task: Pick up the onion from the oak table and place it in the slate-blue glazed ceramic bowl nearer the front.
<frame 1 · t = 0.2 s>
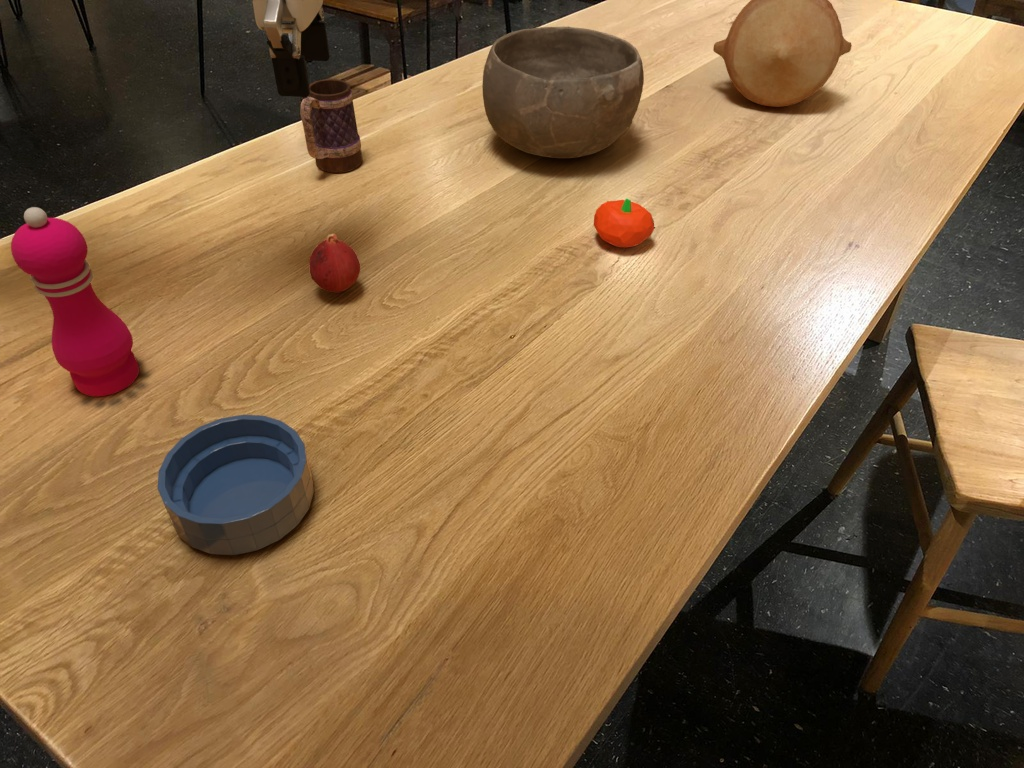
hand: (305, 76, 82), 23 cm above the table, tool pointing down, fingers open, 9 cm apart
bowl: (558, 147, 122), on the table
pumpkin: (619, 242, 102), on the table
pepper mill: (108, 377, 81), on the table
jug: (771, 87, 142), on the table
blue bowl: (245, 501, 69), on the table
mug: (333, 168, 115), on the table
onion: (338, 293, 92), on the table
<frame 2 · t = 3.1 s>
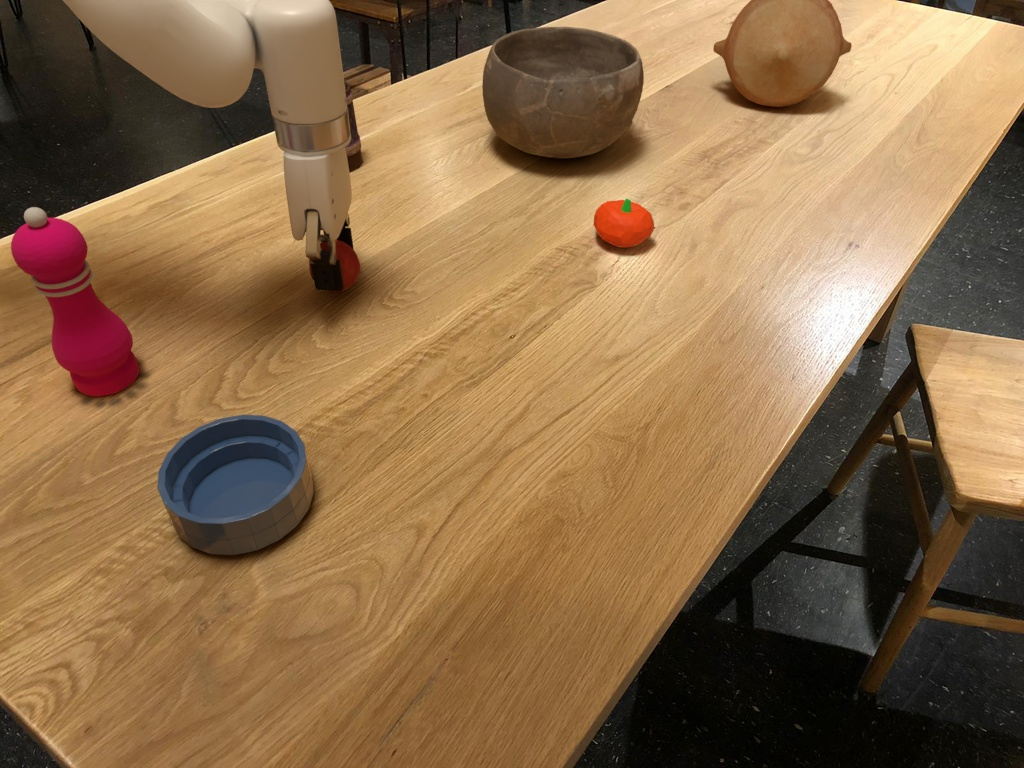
hand: (335, 271, 90), 3 cm above the table, tool pointing down, fingers closed on onion, 5 cm apart
onion: (338, 293, 92), on the table, touching gripper
everything else where it was.
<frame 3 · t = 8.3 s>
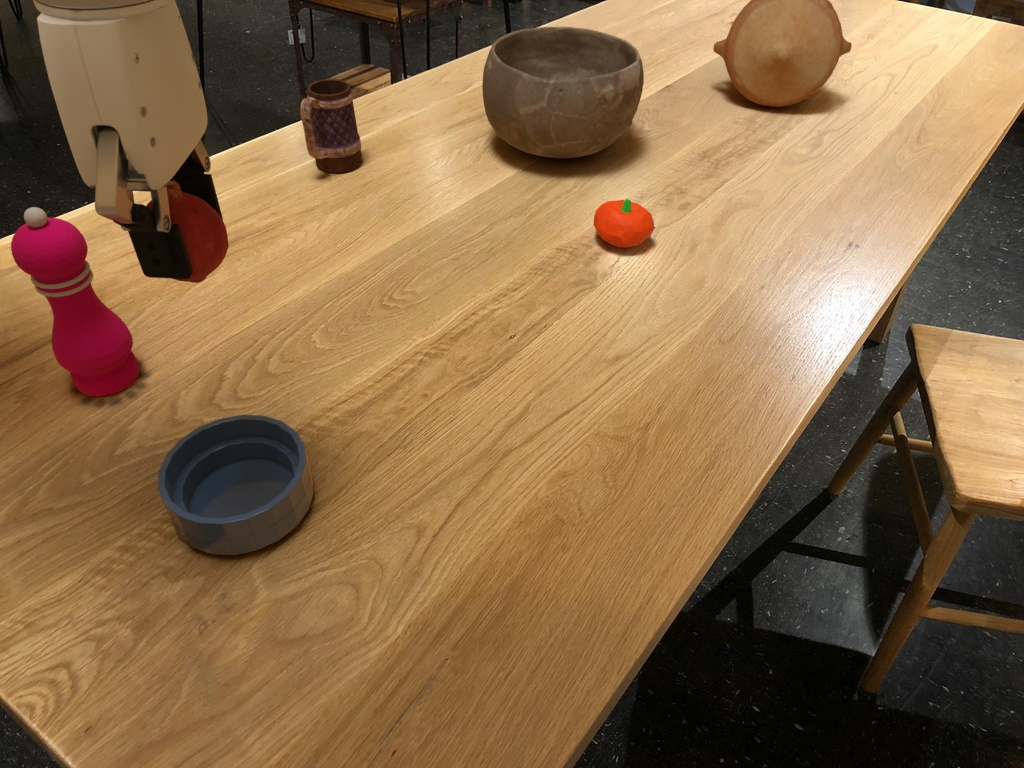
hand: (185, 246, 54), 25 cm above the table, tool pointing down, fingers closed on onion, 5 cm apart
onion: (197, 283, 56), point 22 cm above the table, touching gripper
everything else where it was.
when the fingers open (4 cm above the table, at t = 13.8 s): onion stays where it is, resting on blue bowl.
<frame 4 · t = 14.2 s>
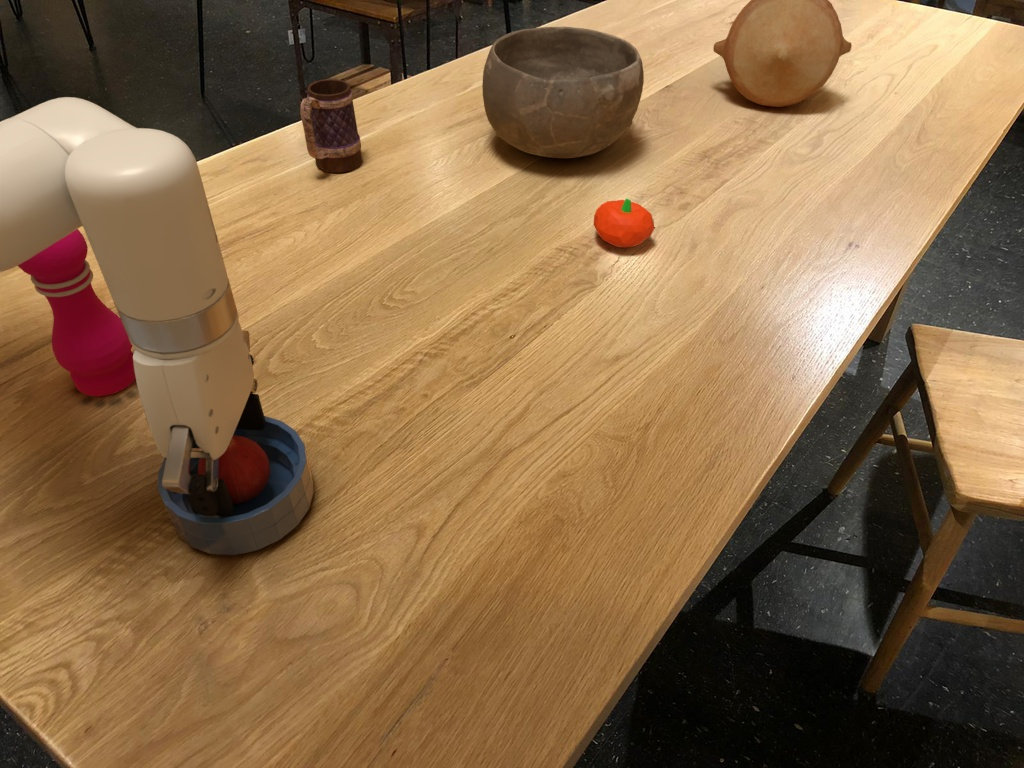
hand: (232, 467, 66), 5 cm above the table, tool pointing down, fingers open, 9 cm apart
onion: (243, 498, 69), resting on blue bowl
everything else where it was.
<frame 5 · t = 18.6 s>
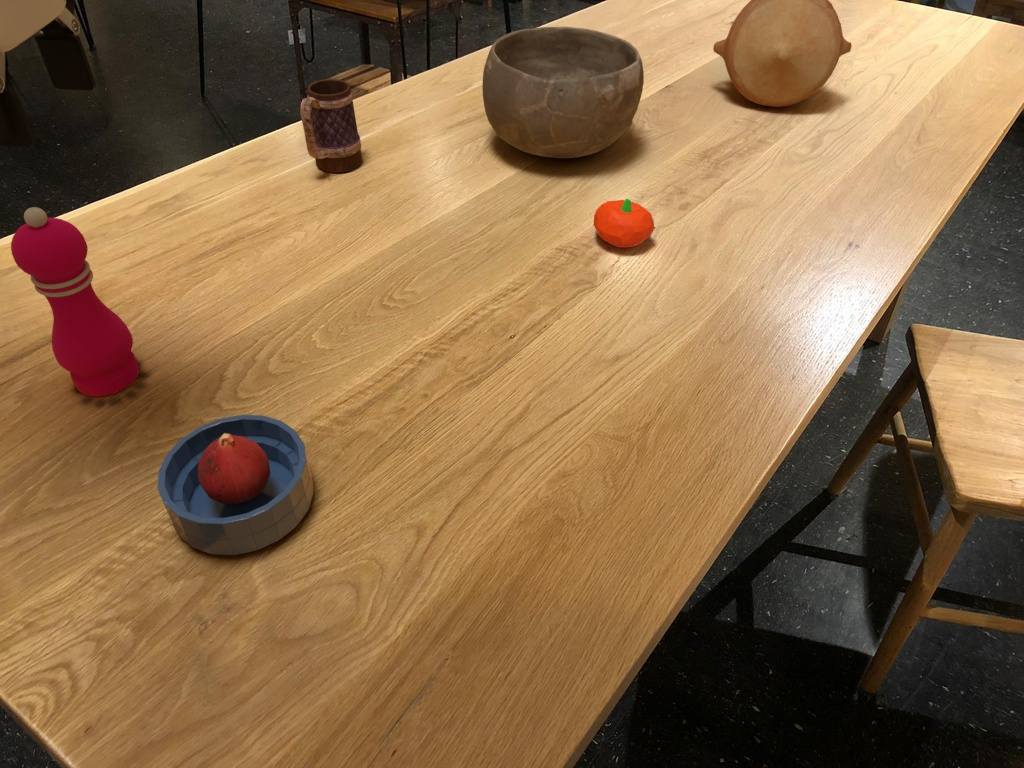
hand: (46, 114, 57), 30 cm above the table, tool pointing down, fingers open, 9 cm apart
nothing on the table moved.
at the end: onion inside the target area in the blue bowl (0.1 cm from its centre), point 0.4 cm above the blue bowl's base; the gripper is holding nothing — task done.
